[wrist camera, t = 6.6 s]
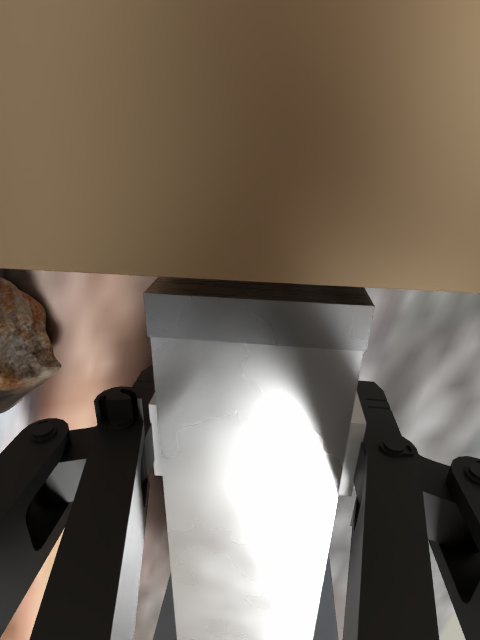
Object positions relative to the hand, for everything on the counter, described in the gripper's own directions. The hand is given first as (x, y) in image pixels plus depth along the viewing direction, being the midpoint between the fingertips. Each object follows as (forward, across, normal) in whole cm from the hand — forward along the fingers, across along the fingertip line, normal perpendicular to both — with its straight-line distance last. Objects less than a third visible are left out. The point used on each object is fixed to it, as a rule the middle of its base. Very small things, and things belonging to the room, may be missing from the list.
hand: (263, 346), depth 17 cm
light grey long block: (+2, 0, -4) cm, 4 cm away
